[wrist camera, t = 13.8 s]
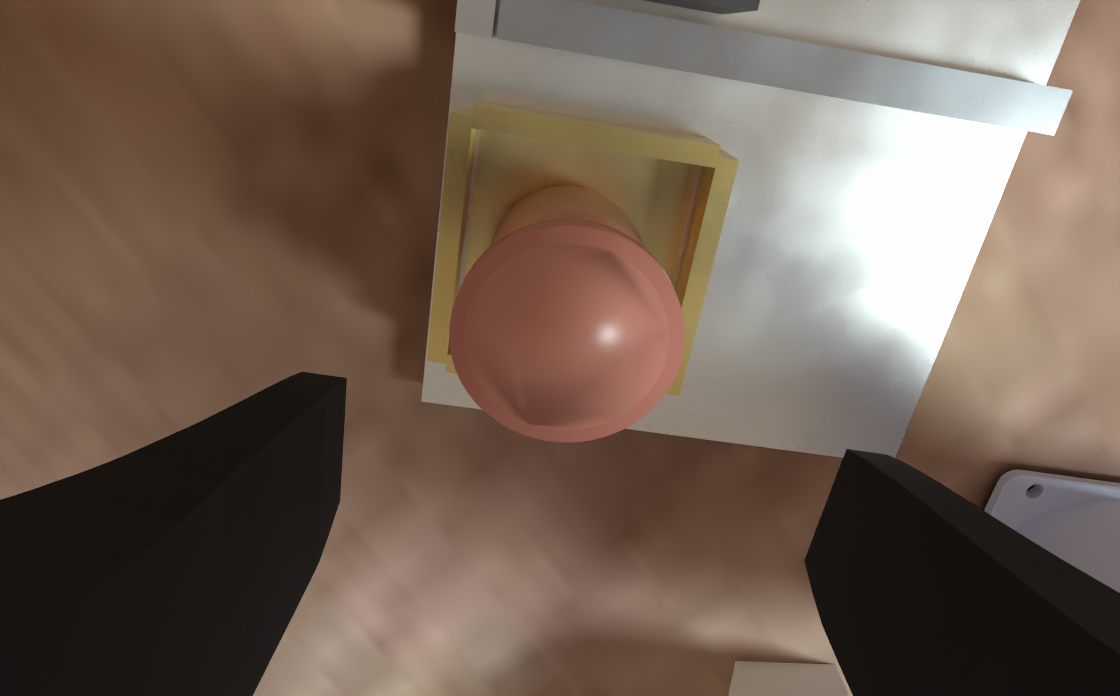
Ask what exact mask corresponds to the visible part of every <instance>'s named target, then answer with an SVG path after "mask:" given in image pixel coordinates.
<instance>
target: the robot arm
mask: <svg viewBox="0 0 1120 696" xmlns="http://www.w3.org/2000/svg"><path fill="white" fill-rule="evenodd" d="M346 381H347V378H342V377H335V376H328V375H321V374H314V373H307V372H300V373H298V374H295V375H293V376H290V377H288V378H286V379H284V380H282V381H280V382H278V383H276V384H274V385H272V386H270V387H268V388H266V389H264V390H262V391H260V392H258V393H256V394H254V395H252V396H250V397H248V398H246V399H245V400H243V401H241V402H239V403H237V404H235V405H233V406H231V407H229V408H227V409H225V410H223V411H221V412H219V413H217V414H215V415H213V416H211V417H209V418H207V419H205V420H203V421H201V422H199V423H196V424H194V425H192V426H190V427H188V428H186V429H183V430H181V431H179V432H177V433H174V434H172V435H170V436H168V437H165V438H163V439H161V440H159V441H156V442H154V443H152V444H150V445H147V446H145V447H143V448H141V449H138V450H136V451H134V452H132V453H129V454H127V455H125V456H123V457H120V458H118V459H115V460H113V461H110V462H108V463H105V464H103V465H100V466H97V467H95V468H92V469H89V470H87V471H84V472H81V473H79V474H76V475H73V476H70V477H67V478H65V479H62V480H59V481H56V482H53V483H50V484H47V485H44V486H41V487H39V488H36V489H33V490H30V491H27V492H24V493H21V494H18V495H14V496H11V497H8V498H5V499H1V500H0V696H253V694H254V692H255V690H256V688H257V686H258V684H259V682H260V680H261V678H262V676H263V674H264V672H265V670H266V668H267V666H268V664H269V662H270V660H271V658H272V656H273V654H274V652H275V650H276V648H277V646H278V644H279V642H280V640H281V638H282V636H283V634H284V632H285V630H286V628H287V626H288V624H289V622H290V620H291V618H292V616H293V614H294V612H295V610H296V608H297V606H298V604H299V602H300V600H301V598H302V596H303V594H304V592H305V590H306V588H307V586H308V584H309V582H310V580H311V578H312V576H313V574H314V572H315V570H316V567H317V565H318V563H319V561H320V558H321V555H322V552H323V549H324V547H325V544H326V541H327V538H328V535H329V532H330V529H331V526H332V523H333V520H334V517H335V514H336V511H337V508H338V505H339V502H340V491H341V473H342V454H343V436H344V418H345V399H346ZM1032 485H1035V486H1034V487H1033V488H1032V489H1030V490H1028V491H1027V489H1028V488H1029V487H1030V486H1032ZM804 561H805V565H806V569H807V572H808V576H809V580H810V584H811V588H812V592H813V596H814V599H815V602H816V606H817V609H818V612H819V616H820V619H821V622H822V625H823V627H824V630H825V632H826V635H827V637H828V639H829V642H830V644H831V646H832V649H833V651H834V653H835V656H836V658H837V660H838V663H839V665H840V667H841V669H842V672H843V674H844V676H845V679H846V681H847V683H848V685H849V688H850V690H851V692H852V694H853V696H1120V483H1115V482H1108V481H1100V480H1093V479H1085V478H1078V477H1071V476H1063V475H1056V474H1048V473H1041V472H1034V471H1026V470H1011V471H1009V472H1006V473H1005V474H1004V475H1002V476H1001V478H1000V479H999V480H998V482H997V484H996V486H995V488H994V490H993V493H992V495H991V497H990V499H989V501H988V503H987V505H986V507H985V509H984V511H983V510H982V509H980V508H979V507H977V506H976V505H974V504H972V503H971V502H969V501H968V500H966V499H964V498H963V497H961V496H960V495H958V494H956V493H955V492H953V491H952V490H950V489H949V488H947V487H945V486H944V485H942V484H940V483H939V482H937V481H935V480H934V479H932V478H930V477H929V476H927V475H925V474H924V473H922V472H920V471H918V470H917V469H915V468H913V467H911V466H909V465H908V464H906V463H904V462H902V461H900V460H898V459H896V458H893V457H891V456H889V455H887V454H880V453H873V452H866V451H859V450H851V449H846V452H845V454H844V457H843V460H842V462H841V465H840V468H839V470H838V473H837V476H836V478H835V481H834V484H833V486H832V489H831V491H830V494H829V497H828V499H827V502H826V505H825V507H824V510H823V513H822V515H821V518H820V521H819V523H818V526H817V529H816V531H815V534H814V537H813V539H812V542H811V545H810V547H809V550H808V553H807V555H806V558H805V560H804Z"/></svg>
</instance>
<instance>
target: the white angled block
mask: <svg viewBox="0 0 1120 696" xmlns="http://www.w3.org/2000/svg"><path fill="white" fill-rule="evenodd" d="M728 696H849V694H848V691H847V689H846V687H845V685H844V683H843V681H842V678H841V676H840V674H839V672H838V670H837V667H836V665H835V664H806V663H777V662H747V661H735V666H734V671H733V675H732V680H731V685H730V689H729V694H728Z"/></svg>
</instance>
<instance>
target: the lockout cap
mask: <svg viewBox="0 0 1120 696" xmlns="http://www.w3.org/2000/svg"><path fill="white" fill-rule="evenodd" d="M449 342H450V350H451V356H452V360H453V363H454V367H455V370H456V372H457V374H458V377H459V379H460V381H461V383H462V384H463V386H464V388H465V390H466V391H467V393H468V394H469V395H470V397H471V398H472V399H473V400H474V402H475V403H476V404H477V405H478V406H479V407H480V408H481V409H482V410H483V411H484V412H485V413H486V414H488V415H489V416H490V417H492V418H493V419H494V420H495V421H497V422H498V423H500V424H502V425H503V426H505V427H507V428H508V429H511V430H513V431H515V432H517V433H520V434H522V435H525V436H528V437H531V438H534V439H539V440H544V441H549V442H562V443H570V442H583V441H590V440H595V439H599V438H603V437H606V436H609V435H612V434H614V433H617V432H619V431H621V430H623V429H625V428H627V427H629V426H631V425H632V424H634V423H635V422H637V421H638V420H640V419H641V418H643V417H644V416H645V415H646V414H647V413H648V412H650V411H651V410H652V409H653V408H654V407H655V406H656V405H657V404H658V402H659V401H660V400H661V399H662V398H663V397H664V395H665V394H666V392H667V391H668V389H669V388H670V386H671V385H672V383H673V381H674V379H675V376H676V374H677V372H678V369H679V366H680V363H681V360H682V356H683V350H684V342H685V327H684V319H683V314H682V310H681V306H680V302H679V300H678V297H677V295H676V292H675V290H674V288H673V285H672V283H671V281H670V278H669V277H668V275H667V273H666V272H665V270H664V268H663V267H662V265H661V264H660V263H659V262H658V260H657V259H656V258H655V257H654V256H653V254H651V253H650V252H649V251H648V250H647V249H646V248H645V247H644V246H643V244H642V241H641V238H640V236H639V233H638V231H637V229H636V227H635V225H634V223H633V222H632V220H631V218H630V217H629V216H628V215H627V213H626V212H625V211H624V210H623V209H622V208H621V207H620V206H619V205H618V204H617V203H615V202H614V201H612V200H611V199H610V198H608V197H606V196H604V195H602V194H601V193H599V192H596V191H593V190H590V189H587V188H582V187H576V186H557V187H551V188H546V189H543V190H540V191H537V192H535V193H533V194H531V195H529V196H527V197H525V198H524V199H522V200H521V201H519V202H518V203H517V204H516V205H514V206H513V207H512V208H511V209H510V210H509V211H508V212H507V214H506V215H505V216H504V217H503V219H502V220H501V222H500V223H499V225H498V227H497V229H496V231H495V233H494V236H493V239H492V242H491V245H490V247H489V248H488V249H487V250H486V251H484V253H483V254H482V255H481V256H480V257H479V258H478V259H477V260H476V261H475V263H474V264H473V266H472V267H471V269H470V270H469V272H468V273H467V275H466V277H465V279H464V281H463V283H462V285H461V287H460V290H459V292H458V295H457V297H456V300H455V303H454V307H453V310H452V314H451V320H450V328H449Z"/></svg>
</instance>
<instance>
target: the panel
mask: <svg viewBox="0 0 1120 696" xmlns="http://www.w3.org/2000/svg"><path fill="white" fill-rule="evenodd" d="M1079 2H1080V0H760V3H759V7H758V10H757V11H749V12H741V13H732V14H724V15H722V14H716V13H711V12H705V11H699V10H694V9H688V8H683V7H677V6H672V5H666V4H661V3H655V2H650V1H644V0H457V10H456V20H455V31H454V32H456V40H455V51H454V62H453V72H452V83H451V93H450V104H449V114H448V125H447V136H446V146H445V157H444V167H443V178H442V188H441V199H440V210H439V220H438V231H437V241H436V252H435V263H434V273H433V284H432V294H431V305H430V315H429V326H428V337H427V347H426V358H425V368H424V379H423V390H422V400H421V401H422V402H429V403H437V404H444V405H451V406H459V407H466V408H474V409H481V408H480V407H479V406H478V405H477V404H476V403H475V402H474V400H473V399H472V398H471V397H470V395H469V394H468V393H467V391H466V390H465V388H464V386H463V384H462V383H461V381H460V379H459V377H458V374H457V372H456V370H455V367H454V363H453V360H452V356H451V350H450V342H449V328H450V320H451V314H452V310H453V307H454V303H455V300H456V297H457V295H458V292H459V290H460V287H461V285H462V283H463V281H464V279H465V277H466V275H467V273H468V272H469V270H470V269H471V267H472V266H473V264H474V263H475V261H476V260H477V259H478V258H479V257H480V256H481V255H482V254H483V253H484V251H486V250H487V249H488V248H489V247H490V245H491V242H492V239H493V236H494V233H495V231H496V229H497V227H498V225H499V223H500V222H501V220H502V219H503V217H504V216H505V215H506V214H507V212H508V211H509V210H510V209H511V208H512V207H513V206H514V205H516V204H517V203H518V202H519V201H521V200H522V199H524V198H525V197H527V196H529V195H531V194H533V193H535V192H537V191H540V190H543V189H546V188H551V187H557V186H576V187H582V188H587V189H590V190H593V191H596V192H599V193H601V194H602V195H604V196H606V197H608V198H610V199H611V200H612V201H614V202H615V203H617V204H618V205H619V206H620V207H621V208H622V209H623V210H624V211H625V212H626V213H627V215H628V216H629V217H630V218H631V220H632V222H633V223H634V225H635V227H636V229H637V231H638V233H639V236H640V238H641V241H642V244H643V246H644V247H645V248H646V249H647V250H648V251H649V252H650V253H651V254H653V256H654V257H655V258H656V259H657V260H658V262H659V263H660V264H661V265H662V267H663V268H664V270H665V272H666V273H667V275H668V277H669V278H670V281H671V283H672V285H673V288H674V290H675V292H676V295H677V297H678V300H679V302H680V306H681V310H682V314H683V319H684V327H685V342H684V350H683V356H682V360H681V363H680V366H679V369H678V372H677V374H676V376H675V379H674V381H673V383H672V385H671V386H670V388H669V389H668V391H667V392H666V394H665V395H664V397H663V398H662V399H661V400H660V401H659V402H658V404H657V405H656V406H655V407H654V408H653V409H652V410H651V411H650V412H648V413H647V414H646V415H645V416H644V417H643V418H641V419H640V420H638V421H637V422H635V423H634V424H632V425H631V426H629V427H627V428H625V429H631V430H639V431H646V432H654V433H661V434H669V435H676V436H684V437H691V438H699V439H706V440H714V441H721V442H729V443H736V444H743V445H751V446H758V447H766V448H773V449H781V450H788V451H796V452H803V453H811V454H818V455H826V456H833V457H841V458H843V457H844V454H845V452H846V449H851V450H859V451H866V452H873V453H880V454H887V455H889V456H891V457H893V458H896V455H897V453H898V450H899V448H900V445H901V443H902V440H903V438H904V435H905V433H906V430H907V428H908V425H909V423H910V421H911V418H912V416H913V413H914V411H915V408H916V406H917V403H918V401H919V398H920V396H921V393H922V391H923V388H924V386H925V383H926V381H927V378H928V376H929V373H930V371H931V368H932V366H933V364H934V361H935V359H936V356H937V354H938V351H939V349H940V346H941V344H942V341H943V339H944V336H945V334H946V331H947V329H948V326H949V324H950V321H951V319H952V316H953V314H954V312H955V309H956V307H957V304H958V302H959V299H960V297H961V294H962V292H963V289H964V287H965V284H966V282H967V279H968V277H969V274H970V272H971V269H972V267H973V264H974V262H975V259H976V257H977V255H978V252H979V250H980V247H981V245H982V242H983V240H984V237H985V235H986V232H987V230H988V227H989V225H990V222H991V220H992V217H993V215H994V212H995V210H996V207H997V205H998V202H999V200H1000V198H1001V195H1002V193H1003V190H1004V188H1005V185H1006V183H1007V180H1008V178H1009V175H1010V173H1011V170H1012V168H1013V165H1014V163H1015V160H1016V158H1017V155H1018V153H1019V150H1020V148H1021V146H1022V143H1023V141H1024V138H1025V136H1026V133H1027V131H1030V132H1036V133H1042V134H1048V135H1053V136H1054V134H1055V132H1056V130H1057V127H1058V125H1059V122H1060V120H1061V118H1062V115H1063V113H1064V111H1065V108H1066V106H1067V103H1068V101H1069V99H1070V96H1071V94H1072V91H1073V90H1068V89H1062V88H1056V87H1051V86H1046V84H1047V81H1048V79H1049V76H1050V74H1051V71H1052V69H1053V66H1054V64H1055V61H1056V59H1057V56H1058V54H1059V51H1060V49H1061V46H1062V44H1063V41H1064V39H1065V37H1066V34H1067V32H1068V29H1069V27H1070V24H1071V22H1072V19H1073V17H1074V14H1075V12H1076V9H1077V7H1078V4H1079ZM481 410H482V409H481Z"/></svg>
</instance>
